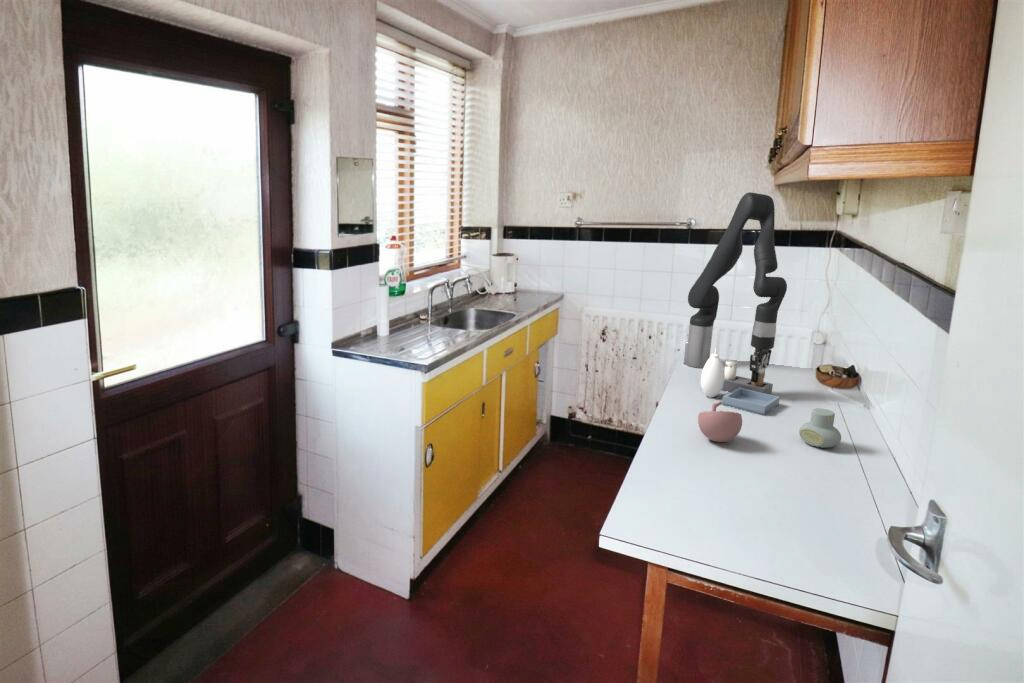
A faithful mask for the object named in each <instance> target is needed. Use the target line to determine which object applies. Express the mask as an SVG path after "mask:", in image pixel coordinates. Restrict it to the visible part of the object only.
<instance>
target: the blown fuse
mask: <svg viewBox="0 0 1024 683" xmlns="http://www.w3.org/2000/svg"><path fill="white" fill-rule="evenodd" d="M754 368H755V367H754ZM764 374H765V375H766V369H765V368H764V367H760V371H759V377H758V382H757V383H755V382H751V385H754V386H758V387H763V382H765V377H764Z"/></svg>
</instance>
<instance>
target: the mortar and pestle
mask: <svg viewBox="0 0 1024 683" xmlns="http://www.w3.org/2000/svg"><path fill="white" fill-rule="evenodd" d="M721 405H722V400H719V401H718V402H715V403H714V402H713V403H712V404H711V410H706V411H702V412H701V411H700V412H699V413H698V415H697V424H698V427H699V430H700V432H701V434H702V435H703V436H704V437H706V438H707V439H709V440H711V441H712V442H716V443H726V442H729V441H732V440H733V439H735V438H736V437H737V436H738V435H739V434H740V432H741V430H742V426H743V416H742V414H741V413H739V412H735V411H728V410H726V411H725V410H718V411H717V408H718V407H719V406H721Z"/></svg>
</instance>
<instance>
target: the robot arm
mask: <svg viewBox="0 0 1024 683" xmlns="http://www.w3.org/2000/svg"><path fill="white" fill-rule="evenodd" d="M775 211H776V210H775V201H774V200H773V198H772V196H770V195H767V194H763V193H757V192H746V193H744V195H743V196H742V197H741V198H740V200H739V202H738V203H737V206H736V208H735V210H734V212H733V215H732V217H731V220H730V221H729V223H728V225H727V228H726V230H725V232H724V233H723V235H722V238H721V239H720V241H719V242H718V244H717V246H716V248H715V249H714V251H713V253H712V254H711V257H710V259H709V260H708V262H707V264H706V265H705V268H704V269H703V271H702V272H701V274H700V275H699V277H698V278H697V279H696V280H695V282H694V283H693V285H692V286H691V288H690V289H689V292H688V295H687V302H688V305H689V306H690V307H691V308H693V309H699V310H698V311H697V312H696V313H695V314H693V315H692V316H690V318H689V326H688V327H689V328H688V337H687V341H686V342H685V346H684V357H683V365H686V366H688V367H692V368H696V367H697V369H703V368H704V366H705V364H706V362H707V361H708V359H709V358H710V357H711V349H712V338H713V331H714V330H713V329H714V323H715V320H716V319H717V314H718V309H719V302H720V293H719V290H718V288H717V287H716V286H714V285H715V284H716V283H717V282H718V281H719V280H721V279H722V278H723V277H724V276H726V275H727V274H728V272H730V271H731V270H732V269H733V268H734V267H735V266H736V264H737V262H738V260H739V259H740V258H741V255H742V253H743V245H744V243H743V237H742V236H743V229H744V228H745V225H746V223H747V222H748V220H753V221H758V223H759V226H760V232H759V236H758V237H757V240H756V242H755V245H754V247H753V256H754V257H753V258H754V263H755V264H754V265H755V272H754V274H755V275H754V281H753V285H752V286H753V289H752V290H753V292H754V294H755V295H756V296H757V297H758V298H769V300H768V301H766V302H764V303H760V304H758V305H756V307H755V315H754V321H753V326H752V333H751V340H750V341H751V342H750V346H751V347H753V348H755V350H754V352H753V354H750V356H749V371H751V378H750V379H751V382H755V383H757V382H758V377H759V371H760V367H764V368H765V370H766V369H767V367H768V366H770V365H769V364H770V360H771V357H772V356H771V355H772V349H774V346H775V341H776V334H777V320H778V312H779V310H780V307H781V304H782V302H783V300H784V297H785V296H786V293H787V289H788V284H787V281H786V279H785V278H783V277H781V276H767V275H768V274H771V273H774V272H775V271H776V270H777V269H778V259H777V258H778V257H777V253H776V247H775V246H776V245H775V216H776V215H775ZM754 367H755V368H754ZM765 376H766V373H765V374H764V378H765Z"/></svg>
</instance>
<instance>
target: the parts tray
mask: <svg viewBox="0 0 1024 683" xmlns="http://www.w3.org/2000/svg"><path fill="white" fill-rule="evenodd" d="M780 399H781V396H778V395H773V394H771V395H769V394H765V393H761V392H757V391H753V390H748V389H744V388H740V387H739V388H737V389H736V390H734V391H732V392H727V394H725V395H723V396H722V400H721V402H722V404H721V405H722V406H725V405H726V407H729V406H730V408H733V407H734V409H737V408H738V409H737V410H740V409H742V410H741V411H744V410H746V411H745V412H748V411H749V413H752V412H753V414H755V415H756V414H757V415H760V416H765V415H767V414H769V413H770V412H771V411H773V410H775V409H776V408H777V407H779V406H780Z"/></svg>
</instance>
